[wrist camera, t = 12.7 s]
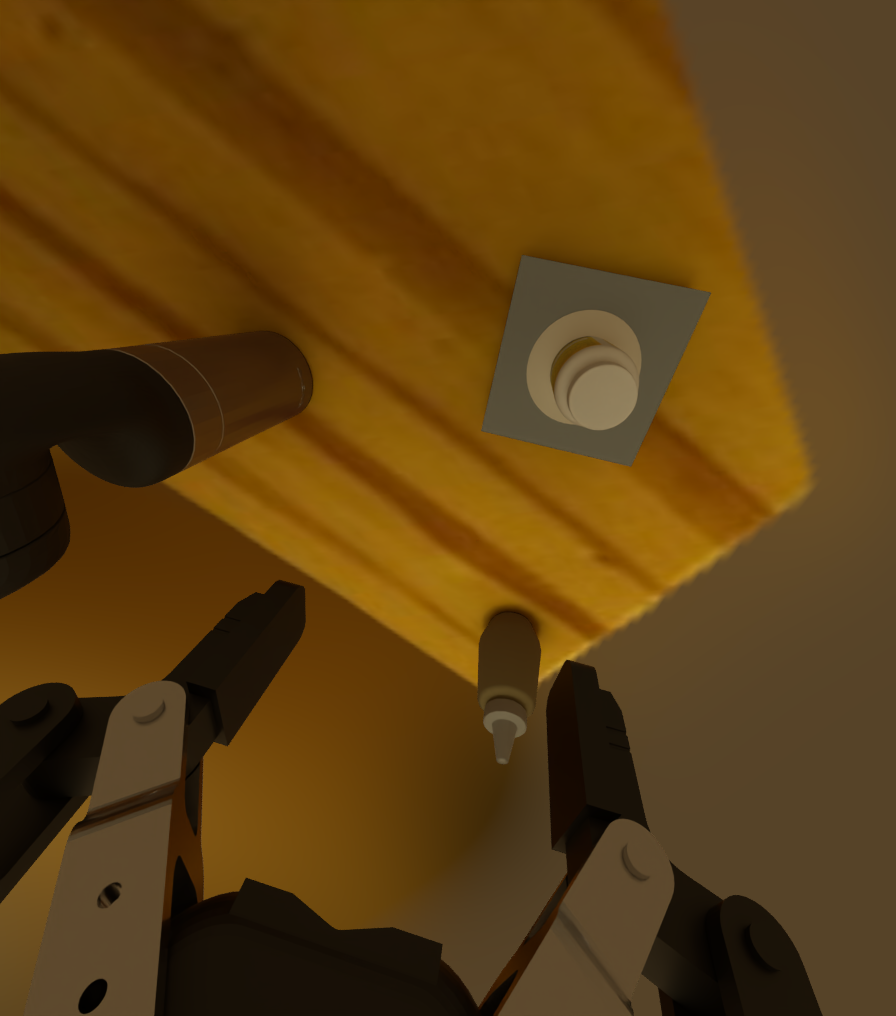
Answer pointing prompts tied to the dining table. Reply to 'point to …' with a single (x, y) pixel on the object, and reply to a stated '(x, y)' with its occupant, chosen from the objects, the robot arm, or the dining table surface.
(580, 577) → the dining table surface
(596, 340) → the supplement bottle
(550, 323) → the charcoal stand
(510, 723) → the squeeze bottle
